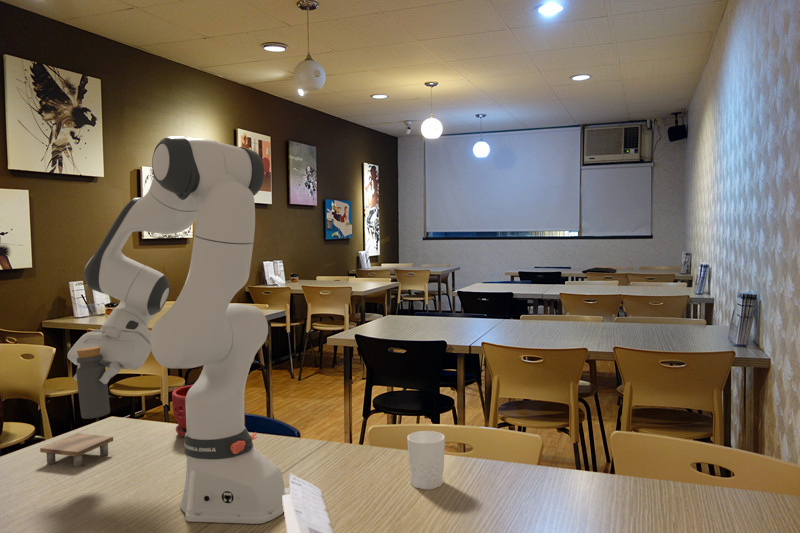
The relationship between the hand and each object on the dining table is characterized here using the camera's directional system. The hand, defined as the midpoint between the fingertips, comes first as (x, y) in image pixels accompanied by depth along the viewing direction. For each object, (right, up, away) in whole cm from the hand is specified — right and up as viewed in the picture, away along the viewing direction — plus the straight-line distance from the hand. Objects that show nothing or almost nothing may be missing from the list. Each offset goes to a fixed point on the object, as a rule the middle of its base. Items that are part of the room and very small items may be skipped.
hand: (89, 381), depth 136 cm
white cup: (+75, -20, -7) cm, 78 cm away
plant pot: (+15, -20, +30) cm, 38 cm away
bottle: (+1, -8, +1) cm, 8 cm away
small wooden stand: (-9, -21, +12) cm, 25 cm away
